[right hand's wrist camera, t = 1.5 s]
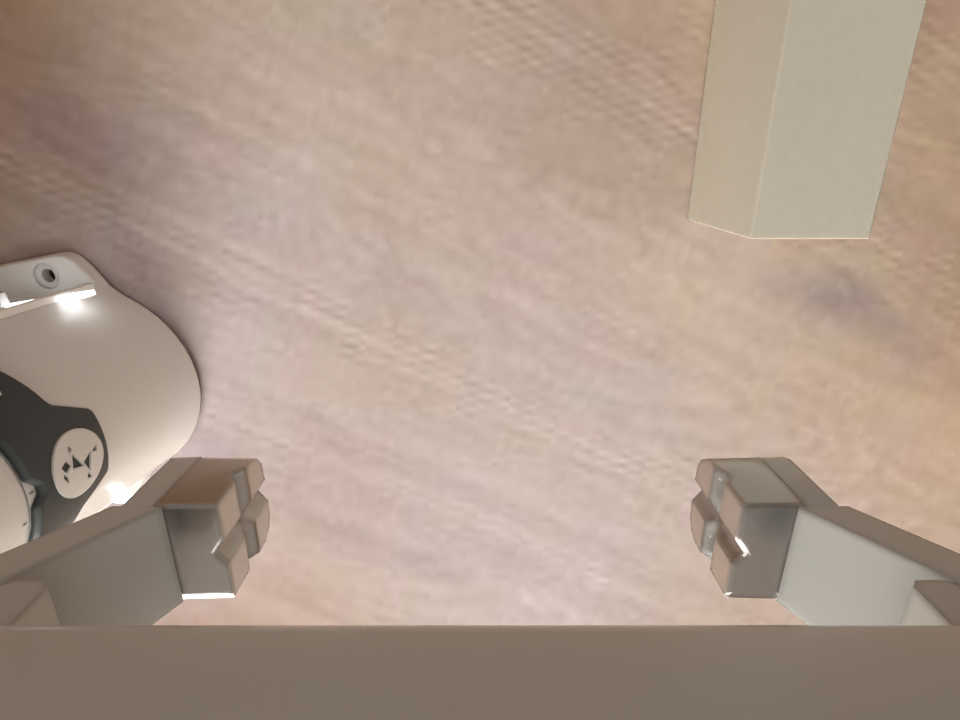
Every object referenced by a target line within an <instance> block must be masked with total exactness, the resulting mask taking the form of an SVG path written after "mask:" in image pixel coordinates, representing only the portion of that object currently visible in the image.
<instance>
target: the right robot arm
mask: <svg viewBox="0 0 960 720" xmlns="http://www.w3.org/2000/svg"><path fill="white" fill-rule="evenodd" d="M50 270H51V271H52V272H53V273H54V274H55V279H54V278H53V277H52V276H51V275H50ZM200 407H201V393H200V385H199V380H198V376H197V373H196V370H195V367H194V365H193V363H192V360H191V358H190V356H189V354H188V353H187V351H186V349H185V348H184V346H183V344H182V343H181V342H180V340H179V339H178V338H177V336H176V335H175V334H174V333H173V332H172V330H171V329H170V328H169V327H168V326H167V325H166V324H165V323H164V322H163V321H162V320H161V319H159V318H158V317H157V316H156V315H155V314H153V313H152V312H151V311H149V310H148V309H147V308H145V307H144V306H142V305H140V304H139V303H137V302H135V301H134V300H132V299H130V298H128V297H127V296H125V295H123V294H121V293H120V292H118V291H117V290H115V289H114V288H113V287H111V286H110V285H109V284H108V283H107V281H106V280H105V279H104V278H103V277H102V276H101V275H100V273H99V272H98V271H97V270H96V269H95V268H94V267H93V266H92V265H91V264H90V263H89V262H88V261H87V260H86V259H84V258H83V257H82V256H80V255H79V254H76V253H74V252H68V251H67V252H60V253H55V254H50V255H45V256H40V257H35V258H31V259H26V260H21V261H16V262H11V263H6V264H1V265H0V720H960V554H959V553H956V552H954V551H952V550H949V549H947V548H944V547H942V546H940V545H937V544H935V543H933V542H930V541H928V540H926V539H923V538H921V537H919V536H916V535H914V534H912V533H909V532H907V531H905V530H902V529H900V528H898V527H895V526H893V525H891V524H888V523H886V522H883V521H881V520H879V519H876V518H874V517H872V516H869V515H867V514H865V513H862V512H860V511H858V510H855V509H853V508H851V507H848V506H838V505H837V504H836V503H835V502H834V501H833V500H832V499H831V498H830V497H829V496H828V495H827V494H826V493H825V492H824V491H823V490H821V489H820V488H819V487H818V486H817V485H816V484H815V483H814V482H813V481H812V480H811V479H810V478H809V477H808V476H807V475H806V474H805V473H804V472H803V471H802V470H801V469H800V468H799V467H798V466H796V465H795V464H794V463H793V462H792V461H791V460H790V459H788V458H785V457H767V458H724V459H703V460H701V461H700V463H699V465H698V467H697V472H696V478H695V480H696V482H697V483H698V485H699V486H700V488H701V489H702V491H701V492H700V493H699V494H698V495H697V496H696V497H695V498H694V499H693V500H692V504H691V513H690V520H691V531H692V534H693V537H694V541H695V543H696V545H697V547H698V549H699V550H700V552H701V553H703V554H704V555H706V556H708V557H709V558H711V559H712V560H711V566H710V570H711V572H712V574H713V575H714V577H715V579H716V581H717V582H718V584H719V586H720V588H721V589H722V591H723V593H724V595H725V596H726V597H736V598H773V599H777V602H779V603H780V604H781V605H783V606H784V607H785V608H787V609H788V610H789V611H790V612H792V613H793V614H794V615H796V616H797V617H798V618H800V619H801V620H802V621H803V622H805V623H806V624H807V625H153V624H154V623H155V622H157V621H158V620H159V619H161V618H162V617H163V616H165V615H166V614H167V613H168V612H170V611H171V610H172V609H174V608H175V607H176V606H178V605H179V604H180V603H182V602H183V599H187V598H222V597H235V595H236V593H237V591H238V590H239V588H240V586H241V584H242V583H243V581H244V579H245V577H246V575H247V574H248V572H249V570H250V566H249V560H248V559H249V558H251V557H252V556H254V555H256V554H257V553H259V552H260V550H261V549H262V547H263V545H264V543H265V541H266V537H267V533H268V529H269V522H270V511H269V504H268V500H267V499H266V498H265V497H264V496H263V495H262V494H261V493H260V492H259V491H258V489H259V488H260V486H261V485H262V483H263V482H264V480H265V478H264V473H263V468H262V464H261V463H260V461H259V460H258V459H255V458H202V457H180V458H172V459H170V460H169V461H168V462H167V463H166V464H165V465H164V466H163V467H162V468H161V469H160V470H158V471H157V472H156V473H155V474H154V475H153V476H152V477H151V478H150V476H151V474H152V472H153V470H154V469H155V468H156V467H157V466H159V465H160V464H161V463H163V462H164V461H166V460H167V459H169V458H170V457H172V456H173V455H175V454H176V453H177V452H178V451H179V450H180V449H182V447H183V446H184V445H185V444H186V443H187V441H188V440H189V439H190V437H191V435H192V434H193V432H194V430H195V428H196V425H197V422H198V419H199V414H200ZM149 478H150V479H149ZM112 502H114V503H122V504H123V505H122V506H112V507H109V508H107V509H105V510H103V509H104V508H105V507H107V506H108V505H109V504H111V503H112ZM101 510H102V511H101Z"/></svg>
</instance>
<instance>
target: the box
mask: <svg viewBox="0 0 960 720" xmlns="http://www.w3.org/2000/svg"><path fill="white" fill-rule="evenodd" d="M926 1H927V0H716V1H715V8H714V16H713V24H712V32H711V40H710V47H709V55H708V63H707V71H706V79H705V86H704V94H703V102H702V110H701V118H700V125H699V133H698V141H697V149H696V157H695V164H694V172H693V180H692V188H691V196H690V203H689V211H688V220H690V221H693V222H697V223H700V224H704V225H707V226H710V227H714V228H717V229H720V230H724V231H727V232H730V233H734V234H737V235H740V236H744V237H747V238H750V239H868V238H869V236H870V232H871V228H872V224H873V220H874V216H875V212H876V208H877V203H878V199H879V195H880V191H881V187H882V183H883V179H884V175H885V170H886V166H887V162H888V158H889V154H890V150H891V146H892V141H893V137H894V133H895V129H896V125H897V121H898V117H899V113H900V108H901V104H902V100H903V96H904V92H905V88H906V84H907V79H908V75H909V71H910V67H911V63H912V59H913V55H914V51H915V46H916V42H917V38H918V34H919V30H920V26H921V22H922V17H923V13H924V9H925V5H926Z"/></svg>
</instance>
